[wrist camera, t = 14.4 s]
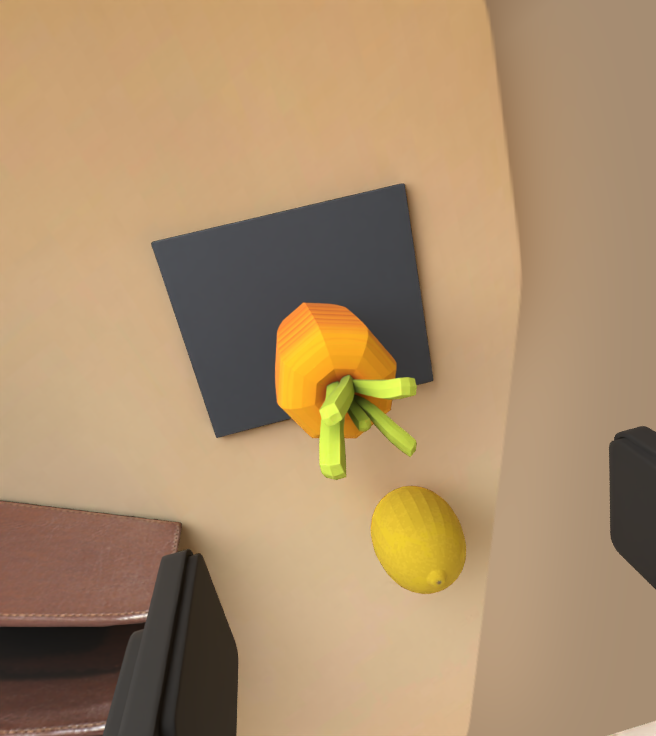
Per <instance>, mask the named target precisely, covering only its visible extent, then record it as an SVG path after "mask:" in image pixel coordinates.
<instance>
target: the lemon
mask: <svg viewBox="0 0 656 736" xmlns="http://www.w3.org/2000/svg"><path fill="white" fill-rule="evenodd" d="M371 537H372V542H373V547H374V550H375V553H376V556H377V557H378V559H379V561H380V563H381V565H382V566H383V568H384V569H385V571H386V572H387V574H388V575H389V576H390V577H391V578H392V579H393V580H394V581H395V582H396V583H397V584H399V585H400V586H401V587H403V588H405V589H407V590H409V591H411V592H416V593H421V594H431V593H435V592H439V591H441V590H444V589H446V588H447V587H448V586H450V585H451V584H452V583H453V582H454V581H455V580H456V579H457V578H458V576H459V575H460V573H461V571H462V570H463V567H464V563H465V560H466V542H465V538H464V534H463V531H462V527H461V524H460V522H459V520H458V518H457V516H456V515H455V513H454V512H453V510H452V509H451V507H450V506H449V505H448V503H447V502H446V501H445V500H444V499H442V498H441V497H440V496H438V495H437V494H436V493H434V492H433V491H431V490H428V489H426V488H423V487H417V486H405V487H401V488H398V489H395V490H393V491H391V492H390V493H388V494H387V495H386V496H385V497H384V498H382V499H381V501H380V502H379V504H378V505H377V507H376V509H375V511H374V514H373V517H372V523H371Z"/></svg>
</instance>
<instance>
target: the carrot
mask: <svg viewBox="0 0 656 736" xmlns="http://www.w3.org/2000/svg"><path fill="white" fill-rule="evenodd" d="M395 375H396V361H395V359H394V358H393V357H392V356H391V355H390V354H389V352H388V351H387V350H386V349H385V348H384V347H383V345H382V344H381V343H380V342H379V341H378V339H377V338H376V337H375V336H374V335H373V334H372V332H371V331H370V330H369V329H368V328H367V327H366V325H365V324H364V323H363V322H362V321H361V320H359V319H358V318H357V317H356V316H355V315H354V314H353V313H352V312H351V311H349V310H348V309H347V308H346V307H343V306H339V305H335V304H323V303H302V304H301V305H300V306H299V307H298V308H296V309H295V310H294V311H293V312H292V313H291V314H290V315H289V316H287V317H286V318H285V319H284V320H283V321H282V323H281V324H280V326H279V328H278V330H277V343H276V362H275V385H276V396H277V403H278V405H279V406H280V407H281V408H282V409H283V410H284V411H285V412H286V413H287V414H288V415H289V416H290V417H291V418H292V419H293V420H294V421H295V422H296V423H297V424H298V425H299V426H300V427H301V428H302V429H303V430H304V431H305V432H306V433H307V434H308V435H309V436H311V437H312V438H320V442H319V457H320V468H321V472H322V474H323V475H324V476H325V477H326V478H330V479H335V480H338V479H341V478H344V477H346V454H345V441H344V438H357V437H359V436H360V435H361V434H362V433H363V432H366V431H367V430H369V429H370V428H371V426H372V425H373V424H374V425H375V426H376V427H377V428H378V429H379V430H380V431H381V432H382V433H383V434H384V436H385V437H386V438H387V439H388V440H389V441H390V442H391V443H392V444H394V445H395V446H396V447H397V448H398V449H400V450H401V451H402V452H404V453H405V454H406V455H408V456H409V457H411V456H412V454H413V453H414V452H415V451H416V445H417V443H416V440H415V439H414V438H413V437H412V436H410V435H409V434H408V433H407V432H406V431H404V430H403V429H402V428H401V427H399V426H398V425H397V424H396V423H395V422H394V421H392V420H391V419H390V418H389V417H388V416H387V415H386V413H387V412H389V411H390V410H391V404H392V399H402V398H407V397H411V396H414V395H416V389H417V386H416V382H415V378H409V377H404V378H396V379H395Z"/></svg>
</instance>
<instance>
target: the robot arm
mask: <svg viewBox="0 0 656 736" xmlns="http://www.w3.org/2000/svg"><path fill="white" fill-rule="evenodd" d="M609 465H610V466H609V468H610V530H611V531H610V533H611V540H612V543H613V545H614V547H615V548H616V550H617V551H618V552H619V554H620V555H621V556H623V558H624V559H626V561H627V562H628V563H629V564H630V565H632V566H633V567H634V568H635V569H636V570H637V571H638V572H639V573H640V574H641V575H642V576H643V577H644V578H645V579H646V580H647V581H648V582H649V583H650V584H651V585H652V586H653V587H654V588H655V589H656V432H655V431H653V430H651V429H650V428H648V427H645V426H641V427H637V428H634V429H629V430H626V431H622V432H619V433H617V434H616V435H615V437H614V441H612V442H611V443H610V446H609ZM237 694H238V652H237V646H236V643H235V640H234V637H233V635H232V632H231V629H230V627H229V624H228V622H227V619H226V616H225V614H224V611H223V608H222V606H221V603H220V601H219V598H218V595H217V593H216V590H215V587H214V585H213V582H212V580H211V577H210V574H209V572H208V569H207V566H206V564H205V561H204V559H203V556H202V555H201V554H200V553H199V554H195V555H193V553H192V551H191V550H190V549H187V550H183V551H180V552H176V553H172V554H169V555H165V556H163V557H162V559H161V562H160V566H159V570H158V574H157V578H156V582H155V586H154V590H153V594H152V598H151V603H150V607H149V611H148V615H147V619H146V623H145V627H144V629H142V630H139V631H135V632H134V633H133V634H132V635H131V636H130V639H129V641H128V644H127V648H126V652H125V655H124V659H123V663H122V666H121V670H120V674H119V677H118V681H117V685H116V688H115V692H114V696H113V699H112V703H111V707H110V710H109V714H108V718H107V721H106V725H105V729H104V732H103V736H236V729H237ZM608 736H656V721H654V722H650V723H647V724H644V725H640V726H637V727H634V728H631V729H628V730H624V731H621V732H618V733H614V734H611V735H608Z"/></svg>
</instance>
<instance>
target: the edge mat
mask: <svg viewBox="0 0 656 736" xmlns="http://www.w3.org/2000/svg"><path fill="white" fill-rule="evenodd" d="M151 245H152V248H153V251H154V253H155V256H156V259H157V262H158V265H159V268H160V271H161V274H162V277H163V280H164V283H165V286H166V289H167V292H168V295H169V298H170V301H171V304H172V307H173V310H174V313H175V316H176V319H177V322H178V325H179V328H180V331H181V334H182V337H183V340H184V343H185V346H186V349H187V352H188V355H189V358H190V361H191V364H192V367H193V370H194V373H195V376H196V379H197V382H198V385H199V388H200V390H201V393H202V396H203V399H204V402H205V405H206V408H207V411H208V414H209V417H210V420H211V423H212V426H213V429H214V432H215V435H216V438H218V437H222V436H226V435H230V434H233V433H237V432H241V431H245V430H249V429H252V428H256V427H260V426H264V425H268V424H271V423H275V422H279V421H283V420H287V419H290V418H291V417H290V416H289V415H288V414H287V413H286V412H285V411H284V410H283V409H282V408H281V407H280V406H279V405H278V403H277V396H276V385H275V362H276V343H277V330H278V328H279V326H280V324H281V323H282V321H283V320H284V319H285V318H286V317H287V316H289V315H290V314H291V313H292V312H293V311H294V310H295V309H296V308H298V307H299V306H300V305H301V304H302V303H323V304H335V305H339V306H343V307H346V308H347V309H348V310H349V311H351V312H352V313H353V314H354V315H355V316H356V317H357V318H358V319H359V320H361V321H362V322H363V323H364V324H365V325H366V327H367V328H368V329H369V330H370V331H371V332H372V334H373V335H374V336H375V337H376V338H377V339H378V341H379V342H380V343H381V344H382V345H383V347H384V348H385V349H386V350H387V351H388V352H389V354H390V355H391V356H392V357H393V358H394V359H395V361H396V375H395V379H396V378H404V377H409V378H415V382H416V385H419V384H423V383H427V382H431V381H433V374H432V367H431V360H430V353H429V346H428V340H427V333H426V326H425V319H424V312H423V305H422V299H421V292H420V285H419V278H418V271H417V265H416V258H415V251H414V244H413V237H412V231H411V224H410V217H409V210H408V203H407V197H406V190H405V184H397V185H393V186H389V187H385V188H380V189H376V190H372V191H367V192H363V193H359V194H355V195H350V196H346V197H342V198H338V199H333V200H329V201H325V202H320V203H316V204H312V205H308V206H303V207H299V208H295V209H291V210H286V211H282V212H278V213H273V214H269V215H265V216H261V217H256V218H252V219H248V220H243V221H239V222H235V223H231V224H226V225H222V226H218V227H214V228H209V229H205V230H201V231H196V232H192V233H188V234H184V235H179V236H175V237H171V238H167V239H162V240H158V241H154V242H152V243H151Z"/></svg>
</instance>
